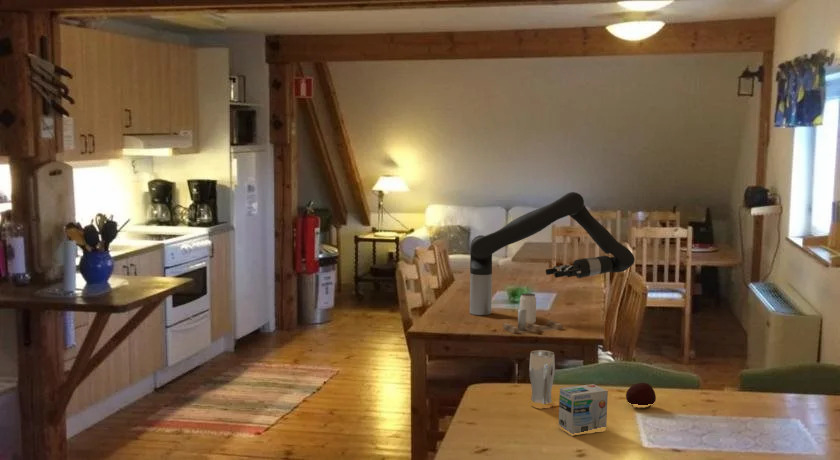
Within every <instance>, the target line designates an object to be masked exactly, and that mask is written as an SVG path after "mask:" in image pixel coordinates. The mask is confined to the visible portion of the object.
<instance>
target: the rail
mask: <svg viewBox="0 0 840 460" xmlns="http://www.w3.org/2000/svg"><path fill="white" fill-rule="evenodd" d="M502 329H503V330H504V331H507V332H509V333H511V334H514V335H515V334H528V333H539V332H549V331H561V330H563V324H562V323H561V322H560V323H559V322H557V321H555V320H552V319H546V320H545V324H543V325H542V324H541V325H539V324H537V323H532V322H526V330H525V331H519V328H518V326H515V325H512V324H510V323H507V322H505V323H502Z"/></svg>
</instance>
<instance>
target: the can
mask: <svg viewBox="0 0 840 460" xmlns="http://www.w3.org/2000/svg"><path fill="white" fill-rule="evenodd" d="M519 309H526V322H532V323H534V324H536V321H537V317H536V316H537V297H536V294H535V293H531V292H530V293H528V292H527V293H521V294H520V298H519Z"/></svg>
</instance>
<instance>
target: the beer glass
mask: <svg viewBox="0 0 840 460" xmlns="http://www.w3.org/2000/svg"><path fill="white" fill-rule="evenodd" d="M529 355H530V356H529V366H528V367H529V368H528V369H529V380H530V386H531V399H530V401H531V400H532V401H533V402H535V403H542V404H548V403H551V402H552V389H553V384H554V378H555V370H556V365H555V364H556V361H555V352H553V351H550V350H544V349H543V350H542V349H538V350H532V351H530V354H529ZM552 403H553V402H552Z"/></svg>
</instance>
